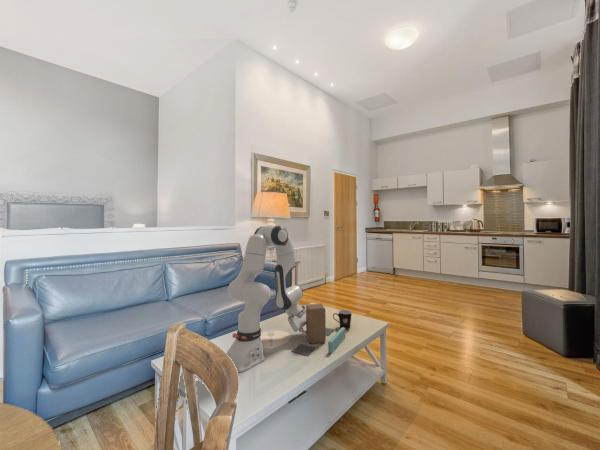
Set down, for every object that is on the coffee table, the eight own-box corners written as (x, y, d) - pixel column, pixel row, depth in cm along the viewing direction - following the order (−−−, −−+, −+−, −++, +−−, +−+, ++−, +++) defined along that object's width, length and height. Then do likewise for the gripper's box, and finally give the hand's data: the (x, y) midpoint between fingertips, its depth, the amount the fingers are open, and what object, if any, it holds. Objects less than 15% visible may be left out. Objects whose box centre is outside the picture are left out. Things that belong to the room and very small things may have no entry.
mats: (308, 356, 143) (308, 355, 143) (291, 351, 147) (291, 351, 147) (334, 330, 176) (334, 329, 176) (320, 327, 181) (320, 326, 181)
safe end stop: (331, 353, 145) (331, 342, 145) (328, 352, 146) (328, 341, 146) (345, 337, 165) (345, 327, 164) (342, 337, 165) (342, 327, 165)
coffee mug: (353, 326, 182) (353, 311, 182) (348, 330, 175) (348, 315, 175) (338, 322, 189) (337, 308, 189) (332, 326, 182) (332, 311, 182)
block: (326, 343, 158) (325, 308, 157) (308, 344, 156) (308, 309, 156) (322, 335, 168) (322, 303, 167) (306, 336, 166) (305, 303, 166)
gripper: (289, 314, 158) (305, 335, 153) (305, 304, 176) (320, 322, 171) (283, 321, 160) (298, 341, 155) (299, 310, 178) (313, 328, 173)
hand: (309, 331), depth 163 cm, fingers open, 8 cm apart
